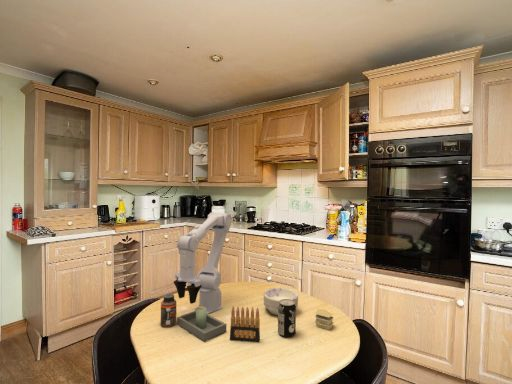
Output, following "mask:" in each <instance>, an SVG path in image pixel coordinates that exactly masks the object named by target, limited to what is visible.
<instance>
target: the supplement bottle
mask: <svg viewBox="0 0 512 384" xmlns="http://www.w3.org/2000/svg"><path fill="white" fill-rule="evenodd" d="M174 325H177V300H176V298H175V295H174V294H173V293H167V294H164V295H163V300H162V301H161V302H160V326H161V327H164V328H165V327H166V328H170V327H173V326H174Z"/></svg>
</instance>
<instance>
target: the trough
mask: <svg viewBox="0 0 512 384" xmlns="http://www.w3.org/2000/svg"><path fill="white" fill-rule="evenodd" d="M176 325H177V326H178V327H180V328H181V329H183V330H184V331H186V332H188V333H190V334H191V335H192V336H194V337H195V338H197V339H198V340H200V341H202V342H204V343H206V342H208V341H210V340H213V339H215V338H216V337H218V336H221V335H223V334H224V333H227V323H226V322H223V321H221V320H219V319H217V318H215V317H214V316H211V315H209V314H207V315H206V328H204V329H200V328H198V327H197V326H196V310H194V311H190V312H188V313H185V314H182V315H180V316H178V317H177V316H176Z"/></svg>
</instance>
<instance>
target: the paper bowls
mask: <svg viewBox="0 0 512 384" xmlns="http://www.w3.org/2000/svg"><path fill="white" fill-rule="evenodd" d="M282 299H290V300H293V301H294V302H295V305H296V309H297V308H298V306H299V295H298V293H297V292H296V291H295V290H293V289H290V288H285V287H272V288H269V289H267V290H265V291H264V293H263V306H264V307H265V308H266V309H268V311H269V312H270V313H271V314H273V315H276V316H278V305H279V301H280V300H282Z"/></svg>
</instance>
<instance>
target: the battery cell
mask: <svg viewBox="0 0 512 384" xmlns="http://www.w3.org/2000/svg"><path fill="white" fill-rule="evenodd" d="M195 308H196V309H195V311H196V326H197V327H198V328H200V329H204V328H206V315H207V308H206V307H203V306H200V307H199V306H198V307H195Z"/></svg>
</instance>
